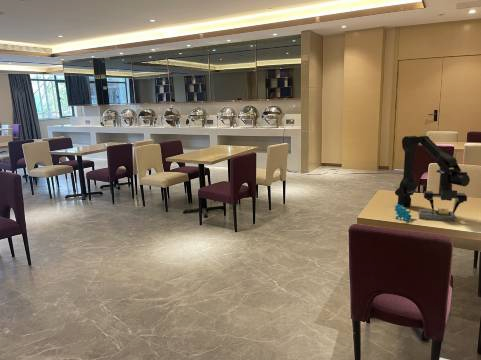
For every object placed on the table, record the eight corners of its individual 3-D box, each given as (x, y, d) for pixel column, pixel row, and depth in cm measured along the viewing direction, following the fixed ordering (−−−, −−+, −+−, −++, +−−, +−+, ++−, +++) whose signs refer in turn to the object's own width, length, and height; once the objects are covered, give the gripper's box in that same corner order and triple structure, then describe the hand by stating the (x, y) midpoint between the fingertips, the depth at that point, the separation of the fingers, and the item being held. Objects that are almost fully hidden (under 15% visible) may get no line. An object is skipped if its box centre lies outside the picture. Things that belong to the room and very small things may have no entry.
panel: (419, 218, 188) (419, 213, 188) (418, 213, 196) (418, 208, 196) (455, 221, 182) (455, 216, 182) (452, 216, 190) (453, 211, 190)
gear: (403, 221, 181) (393, 203, 186) (394, 226, 185) (384, 209, 190) (417, 219, 186) (406, 203, 191) (408, 225, 190) (398, 209, 195)
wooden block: (438, 219, 187) (438, 210, 186) (437, 216, 191) (437, 208, 190) (448, 220, 185) (449, 211, 184) (447, 217, 189) (447, 208, 188)
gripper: (426, 184, 180) (423, 215, 184) (470, 187, 173) (467, 219, 177) (424, 180, 190) (422, 209, 194) (466, 182, 183) (463, 212, 187)
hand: (443, 212), depth 188 cm, fingers open, 9 cm apart
